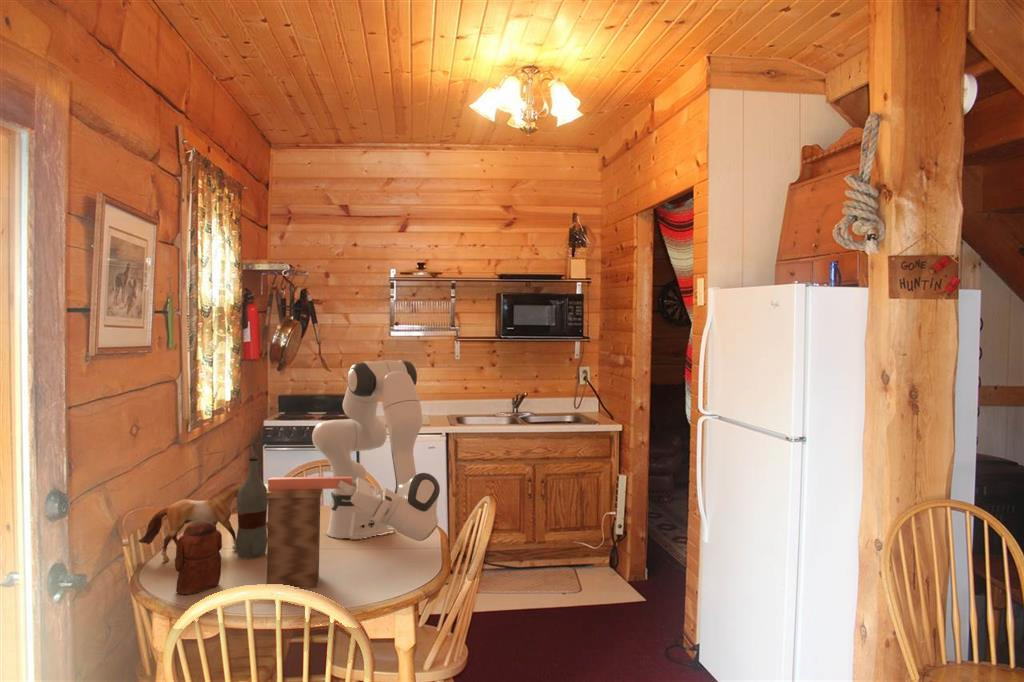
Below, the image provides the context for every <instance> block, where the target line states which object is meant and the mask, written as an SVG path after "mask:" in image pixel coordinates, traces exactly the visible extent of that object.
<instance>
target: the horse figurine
mask: <svg viewBox="0 0 1024 682" xmlns="http://www.w3.org/2000/svg"><path fill="white" fill-rule="evenodd" d="M243 483H244V482H242V483H241V482H234V483H231V484H229V485H227V486H225V487H224V488H222V489H220V490H219V491H218V492H216V493H214V494H212V495H211V496H210V497H209V498H207V499H204V500H191V499H186V498H184V499H181V500H179V501H177V502H175V503H173V504H171V505H169V506H166V507H164V508H162V509H161V510H159V511H158V512H157V513H155V514H154V515H153V516H152V518H151V519H150V521H149V522H148V524H147V528H146V533H145V535H144V536H143V537H142V538H140V539H138V542H139V543H140V544H146V545H150V544H152V542H153V541H154V539H155V538H156V536H157V535H159V533H160V531H161V529H162V525H163V518H164V517H166V516H167V521H168V525H169V528H170V530H169V531H168V533H167V536H166V537H165V538H164V539H163V547H162V550H161V553H160V554H161V555H162V560H163V561H164V562H169V561H170V558H169V555H167V550H168V545H169V543H170V541H171V540H173V542H174V544H175V546H176V547H177V541H178V533H179V532H180V531H181V530H182V529H183V528H184V526H185V524H188V523H193V522H196V521H200V520H205V521H209V522H211V523H213V524H214V525H215V526H216V527H217V525H218V523H220V524H221V526H223V528H225V529H226V530H227V531H228V532H229V533H230V535H231V536H232V539H233V545H232V550H234V551H235V552H237V550H236V538H237V535H236V533H235V530H234V528H233V526H232V523H231V521H230V518H231V515H232V510H231V508H230V507H231V505H232V503H233V501H234V499H235V498H236V499H237V496H238V492H239V489H240V487H241V486H242V484H243Z"/></svg>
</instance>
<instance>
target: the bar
mask: <svg viewBox="0 0 1024 682" xmlns="http://www.w3.org/2000/svg"><path fill="white" fill-rule="evenodd" d="M340 480H343V481H345V482H346V483H347V484H349V485H351V484H352V476H345V477H332V476H291V477H290V476H288V477H286V476H284V477H277V476H276V477H269V478H268V479H267V484H268V490H286V489H323V490H325V489H327V490H333V489H342V488H340V487H338V484H339V482H340Z"/></svg>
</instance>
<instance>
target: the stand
mask: <svg viewBox="0 0 1024 682" xmlns="http://www.w3.org/2000/svg"><path fill="white" fill-rule="evenodd" d="M323 490H324V489H286V490H268V491H267V492H266V498H268V523H267V548H266V585H267V584H283V585H290V586H294V587H299V588H298V589H312V588H313V589H316V588H317V587H318V583H319V577H320V537H321V536H320V532H321V497H322V494H323V493H322V492H323ZM305 587H306V588H305Z"/></svg>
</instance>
